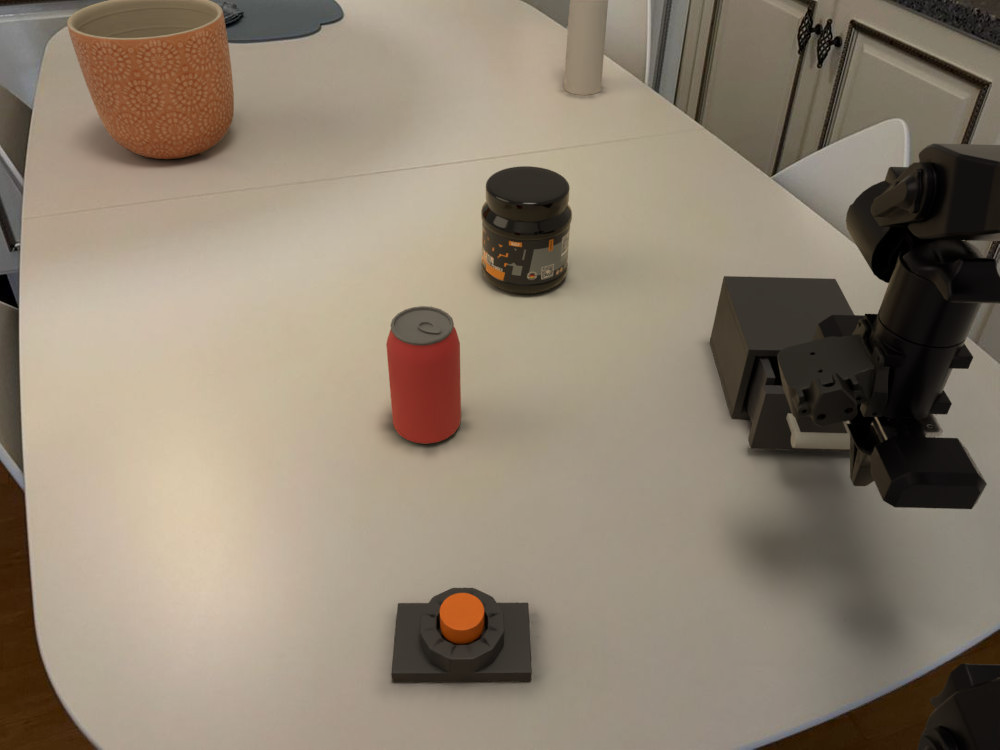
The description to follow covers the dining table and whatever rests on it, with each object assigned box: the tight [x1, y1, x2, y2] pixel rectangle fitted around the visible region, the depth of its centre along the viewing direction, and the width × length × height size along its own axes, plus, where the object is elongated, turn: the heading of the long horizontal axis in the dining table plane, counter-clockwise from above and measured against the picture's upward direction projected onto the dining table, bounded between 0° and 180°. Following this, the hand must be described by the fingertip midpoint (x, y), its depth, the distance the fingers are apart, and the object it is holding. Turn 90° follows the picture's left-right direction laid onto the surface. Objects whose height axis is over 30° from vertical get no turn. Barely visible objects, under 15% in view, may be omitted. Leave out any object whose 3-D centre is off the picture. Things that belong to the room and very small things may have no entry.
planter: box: [66, 0, 235, 160], centre depth 126 cm, size 21×21×19 cm
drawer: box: [744, 356, 850, 452], centre depth 80 cm, size 15×10×7 cm
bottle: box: [563, 0, 609, 96], centre depth 144 cm, size 7×7×28 cm
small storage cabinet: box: [709, 275, 855, 420], centre depth 86 cm, size 13×12×9 cm
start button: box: [440, 593, 484, 644], centre depth 62 cm, size 3×3×2 cm
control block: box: [391, 587, 533, 683], centre depth 63 cm, size 10×6×3 cm, turn 91°
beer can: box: [385, 305, 462, 445], centre depth 79 cm, size 7×7×12 cm
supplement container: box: [480, 165, 573, 295], centre depth 100 cm, size 10×10×12 cm
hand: (857, 482), depth 68 cm, fingers closed
